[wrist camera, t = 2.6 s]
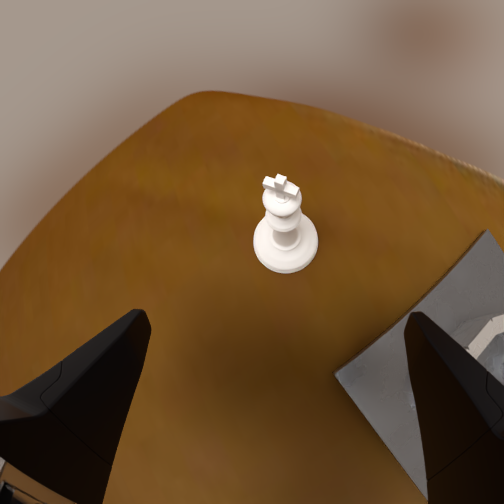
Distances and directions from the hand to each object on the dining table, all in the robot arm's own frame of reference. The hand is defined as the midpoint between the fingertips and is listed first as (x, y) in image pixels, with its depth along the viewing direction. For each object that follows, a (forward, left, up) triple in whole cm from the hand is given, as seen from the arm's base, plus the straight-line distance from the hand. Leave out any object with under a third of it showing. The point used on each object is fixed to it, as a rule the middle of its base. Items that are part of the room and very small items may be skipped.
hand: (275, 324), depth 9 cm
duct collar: (+10, -14, -12) cm, 21 cm away
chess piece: (+4, +5, -13) cm, 14 cm away
